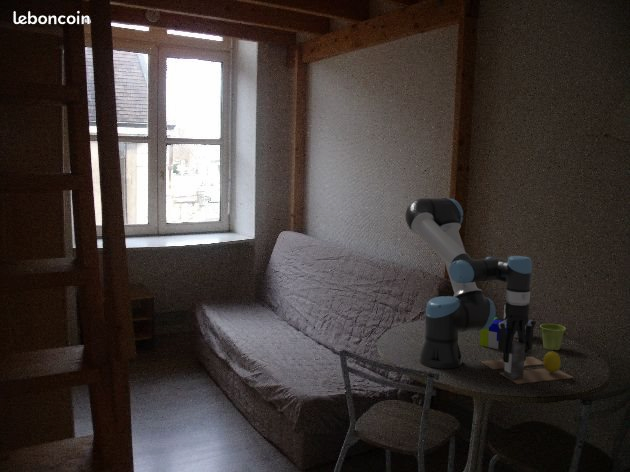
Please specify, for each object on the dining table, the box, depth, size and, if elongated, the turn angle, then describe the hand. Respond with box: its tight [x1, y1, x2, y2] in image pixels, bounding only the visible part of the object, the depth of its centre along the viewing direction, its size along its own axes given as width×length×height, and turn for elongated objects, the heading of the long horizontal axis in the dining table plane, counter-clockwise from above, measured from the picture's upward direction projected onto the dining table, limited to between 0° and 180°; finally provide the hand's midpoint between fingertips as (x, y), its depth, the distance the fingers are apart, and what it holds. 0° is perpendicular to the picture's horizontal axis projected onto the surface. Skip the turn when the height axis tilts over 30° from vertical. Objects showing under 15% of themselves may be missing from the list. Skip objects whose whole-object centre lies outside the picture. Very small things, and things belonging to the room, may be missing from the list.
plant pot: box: [539, 323, 567, 351], centre depth 229 cm, size 9×9×9 cm
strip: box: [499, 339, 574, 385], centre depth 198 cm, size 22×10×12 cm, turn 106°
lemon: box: [542, 350, 562, 373], centre depth 200 cm, size 6×6×8 cm
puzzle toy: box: [479, 316, 507, 350], centre depth 232 cm, size 10×10×10 cm
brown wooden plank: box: [480, 356, 544, 370], centre depth 211 cm, size 22×8×1 cm, turn 106°
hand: (513, 370), depth 196 cm, fingers closed on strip, 4 cm apart
